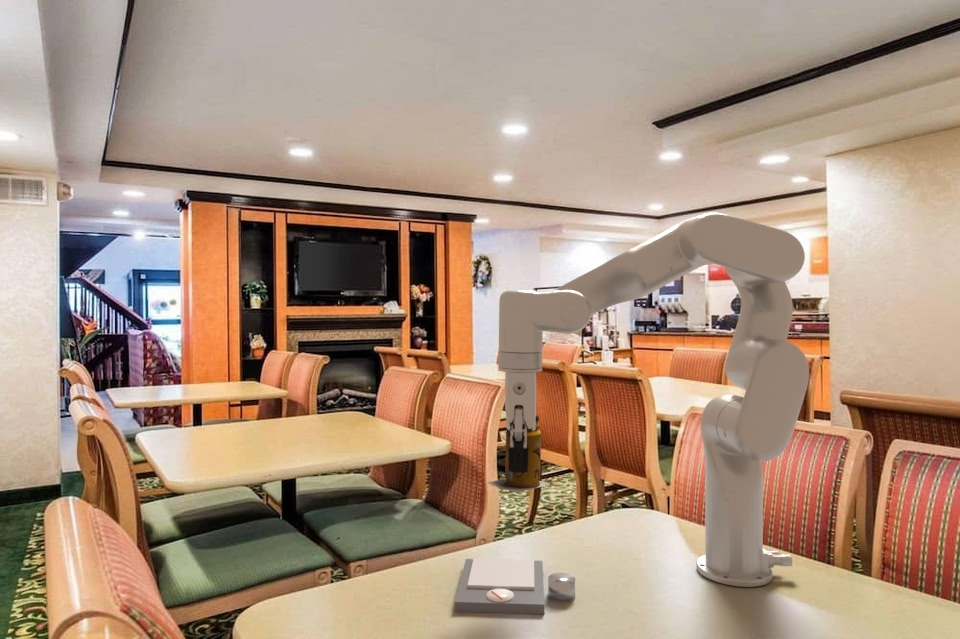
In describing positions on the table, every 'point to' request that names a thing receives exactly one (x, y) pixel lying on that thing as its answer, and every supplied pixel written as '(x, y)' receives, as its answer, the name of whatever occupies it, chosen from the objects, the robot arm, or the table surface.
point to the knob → (561, 587)
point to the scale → (501, 586)
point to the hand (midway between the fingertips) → (518, 465)
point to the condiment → (532, 476)
